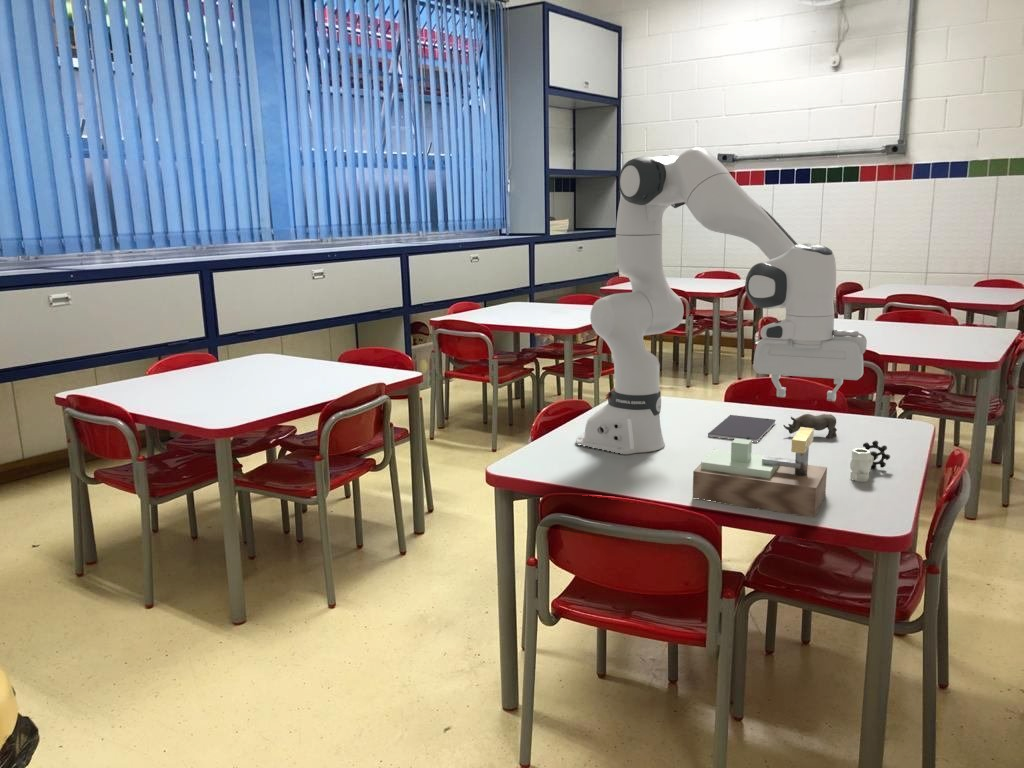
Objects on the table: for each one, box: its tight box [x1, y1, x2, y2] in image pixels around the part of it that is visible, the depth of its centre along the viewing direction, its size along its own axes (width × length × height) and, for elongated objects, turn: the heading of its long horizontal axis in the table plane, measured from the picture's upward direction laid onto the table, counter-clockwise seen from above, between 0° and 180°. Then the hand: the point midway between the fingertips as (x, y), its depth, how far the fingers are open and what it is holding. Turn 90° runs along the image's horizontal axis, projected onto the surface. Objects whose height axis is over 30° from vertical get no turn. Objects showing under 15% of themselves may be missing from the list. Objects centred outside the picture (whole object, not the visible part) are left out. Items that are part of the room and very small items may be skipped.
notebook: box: [707, 414, 776, 443], centre depth 217 cm, size 13×2×21 cm
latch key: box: [762, 427, 815, 475], centre depth 163 cm, size 9×10×8 cm
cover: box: [700, 438, 782, 478], centre depth 168 cm, size 14×10×6 cm
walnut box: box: [692, 463, 828, 518], centre depth 167 cm, size 24×14×6 cm, turn 61°
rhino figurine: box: [783, 413, 838, 439], centre depth 210 cm, size 4×14×6 cm, turn 84°
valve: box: [849, 440, 891, 483], centre depth 179 cm, size 7×7×12 cm
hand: (805, 398), depth 159 cm, fingers open, 8 cm apart
